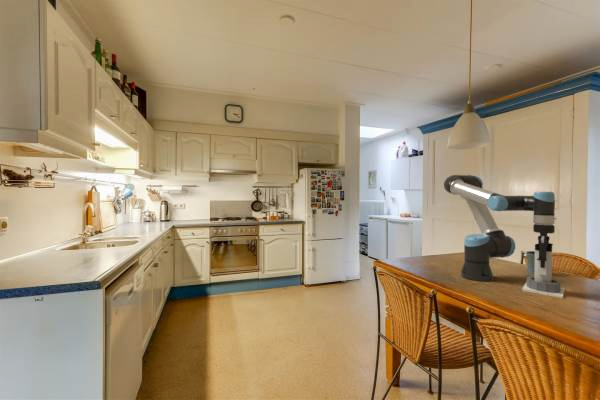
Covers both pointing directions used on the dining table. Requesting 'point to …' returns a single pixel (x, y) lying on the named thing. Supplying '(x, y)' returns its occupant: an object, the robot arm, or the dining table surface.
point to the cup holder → (544, 287)
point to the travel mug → (547, 277)
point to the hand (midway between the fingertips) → (543, 272)
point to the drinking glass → (531, 261)
